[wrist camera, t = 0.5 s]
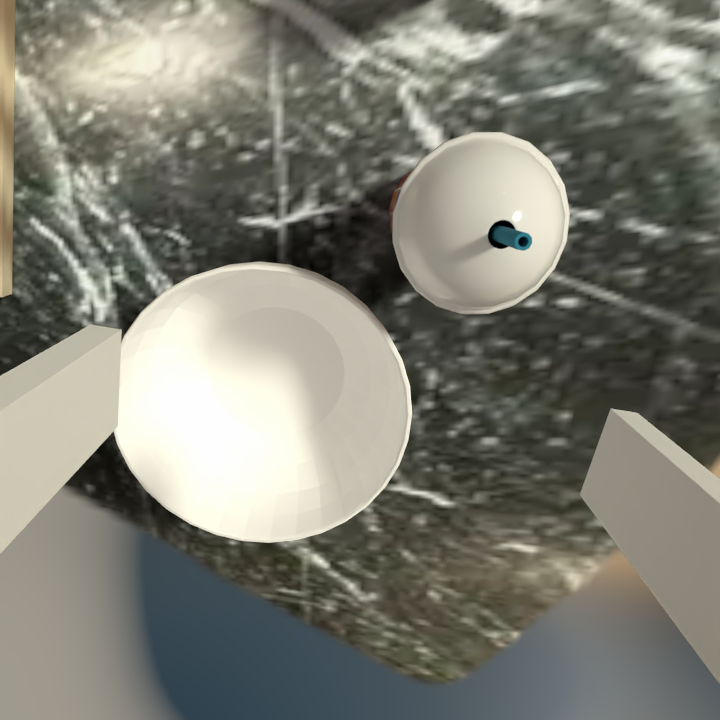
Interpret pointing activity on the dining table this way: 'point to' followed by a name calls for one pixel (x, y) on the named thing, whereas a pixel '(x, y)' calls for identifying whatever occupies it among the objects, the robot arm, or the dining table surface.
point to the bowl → (261, 402)
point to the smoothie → (479, 222)
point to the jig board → (6, 141)
